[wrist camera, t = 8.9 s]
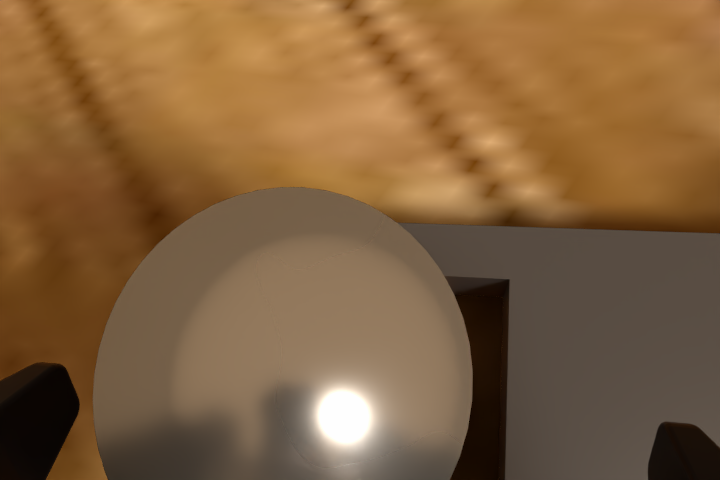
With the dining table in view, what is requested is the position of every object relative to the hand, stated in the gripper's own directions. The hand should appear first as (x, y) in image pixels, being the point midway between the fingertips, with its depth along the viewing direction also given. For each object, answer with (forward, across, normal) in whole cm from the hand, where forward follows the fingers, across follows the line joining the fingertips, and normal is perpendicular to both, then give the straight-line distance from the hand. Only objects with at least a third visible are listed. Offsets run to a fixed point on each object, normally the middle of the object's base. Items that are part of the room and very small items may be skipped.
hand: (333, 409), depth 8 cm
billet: (+7, 0, +7) cm, 10 cm away
